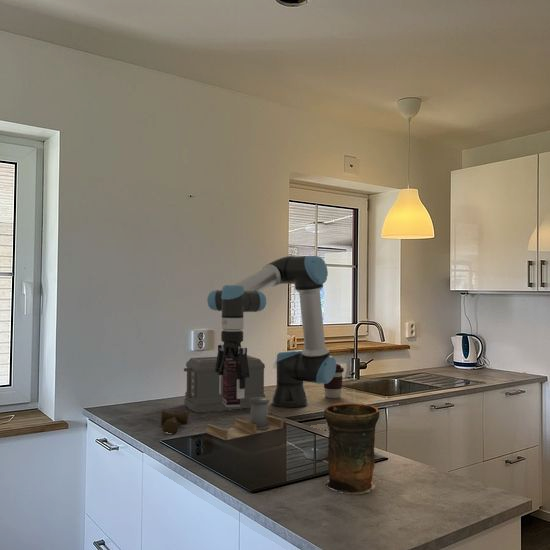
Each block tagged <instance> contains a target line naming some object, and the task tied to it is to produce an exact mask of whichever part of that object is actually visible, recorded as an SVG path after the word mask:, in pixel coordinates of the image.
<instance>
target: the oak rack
mask: <svg viewBox="0 0 550 550" xmlns="http://www.w3.org/2000/svg"><path fill="white" fill-rule="evenodd" d="M267 424H268V425H269V429H266V430H256V424H253V423H250V422H249V421H246V420H243V419H239V418H235V419H234V427H231V428H226V429H225V428H223V427H219V426H216V425H214V424H210V423H206V434H208V435H210V436H211V437H215V438H218V439H221V440H222V441H228V440H232V439H238V438H243V437H247V436H252V435H257V434H262V433H265V432H271V431H276V430H280V429H283V428H284V419H283V418H280V417H275V416H272V415H269V414H267Z"/></svg>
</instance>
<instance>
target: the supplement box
mask: <svg viewBox="0 0 550 550" xmlns="http://www.w3.org/2000/svg"><path fill="white" fill-rule="evenodd" d="M236 362H237V363H238V364H240V360H233V359H232V358H231V357H230V358H225V362H224V368H223V403H224V405H225V406H226V407H240V399H237V378H238V374H237V371H236Z"/></svg>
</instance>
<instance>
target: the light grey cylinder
mask: <svg viewBox="0 0 550 550" xmlns="http://www.w3.org/2000/svg"><path fill="white" fill-rule="evenodd" d="M249 402H250V403H251V409H250V423H253V424H256V430H266V429H269V425H268V424H267V415H268V404H269V403H270V399H269V398H268V397H265V398H262V397H256V398H250V399H249Z"/></svg>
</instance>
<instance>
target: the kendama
mask: <svg viewBox="0 0 550 550" xmlns="http://www.w3.org/2000/svg"><path fill="white" fill-rule="evenodd" d="M160 417H161V418H160V423H161V426H162V425H163V426H162V431H163V433H164V432H168V433H175V434H176V432H178V427H179V424H181V425H183V426H187V425H188V424H189V423H188V422H189V410H187V409H185V410H183V411H180V412H171V411H169V410H167V409H165V408H162V411H161V416H160Z"/></svg>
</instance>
